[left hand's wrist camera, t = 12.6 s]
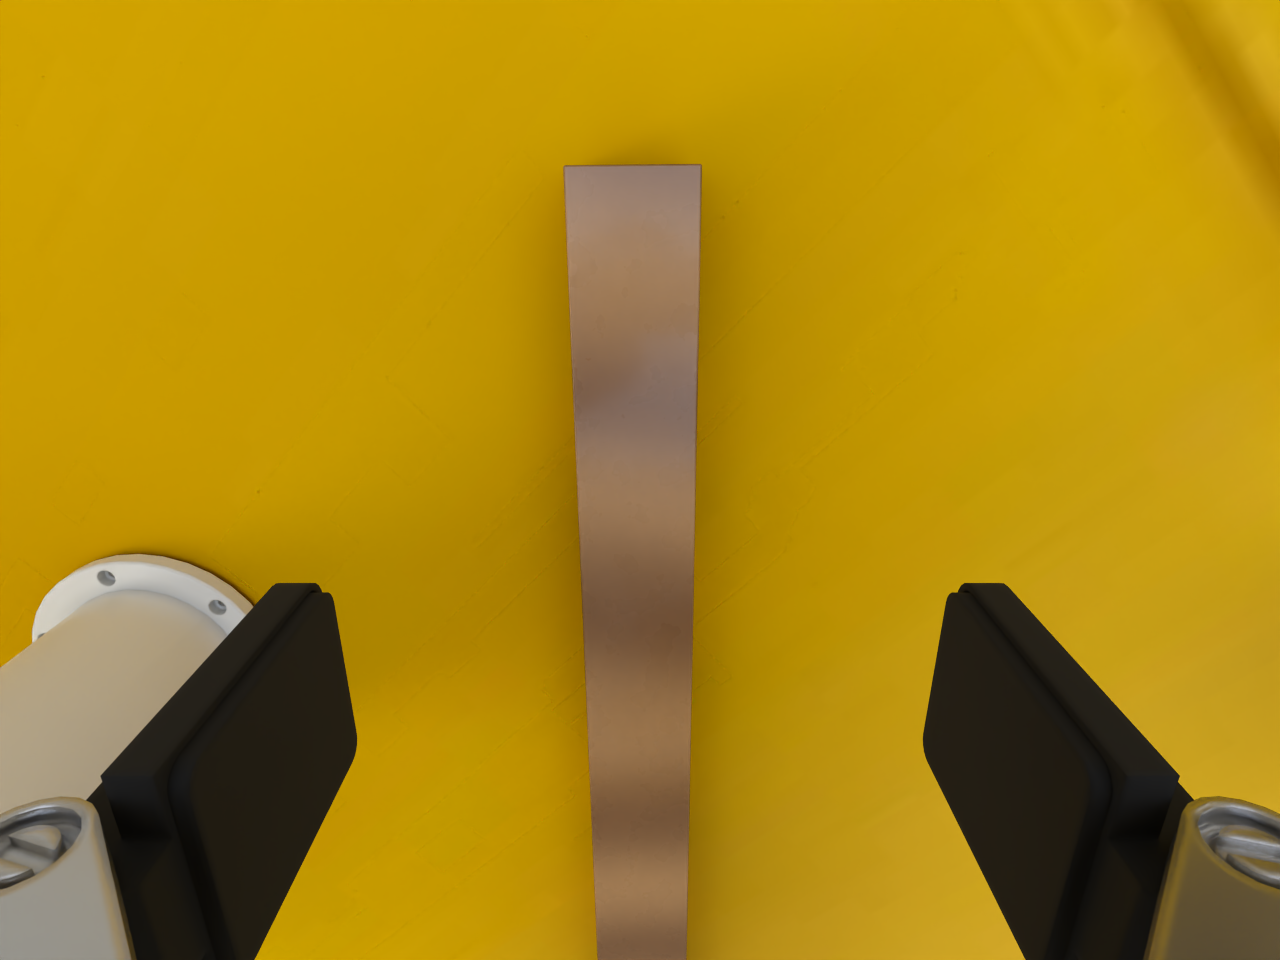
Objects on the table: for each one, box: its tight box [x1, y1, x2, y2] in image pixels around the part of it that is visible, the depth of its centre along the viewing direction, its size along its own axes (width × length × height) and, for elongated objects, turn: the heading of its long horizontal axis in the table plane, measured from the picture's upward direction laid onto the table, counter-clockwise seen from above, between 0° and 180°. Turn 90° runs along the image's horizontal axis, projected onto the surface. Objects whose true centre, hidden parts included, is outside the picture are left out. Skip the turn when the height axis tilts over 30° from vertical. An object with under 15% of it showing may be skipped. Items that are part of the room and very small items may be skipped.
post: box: [563, 164, 702, 960], centre depth 39 cm, size 56×5×8 cm, turn 1°
